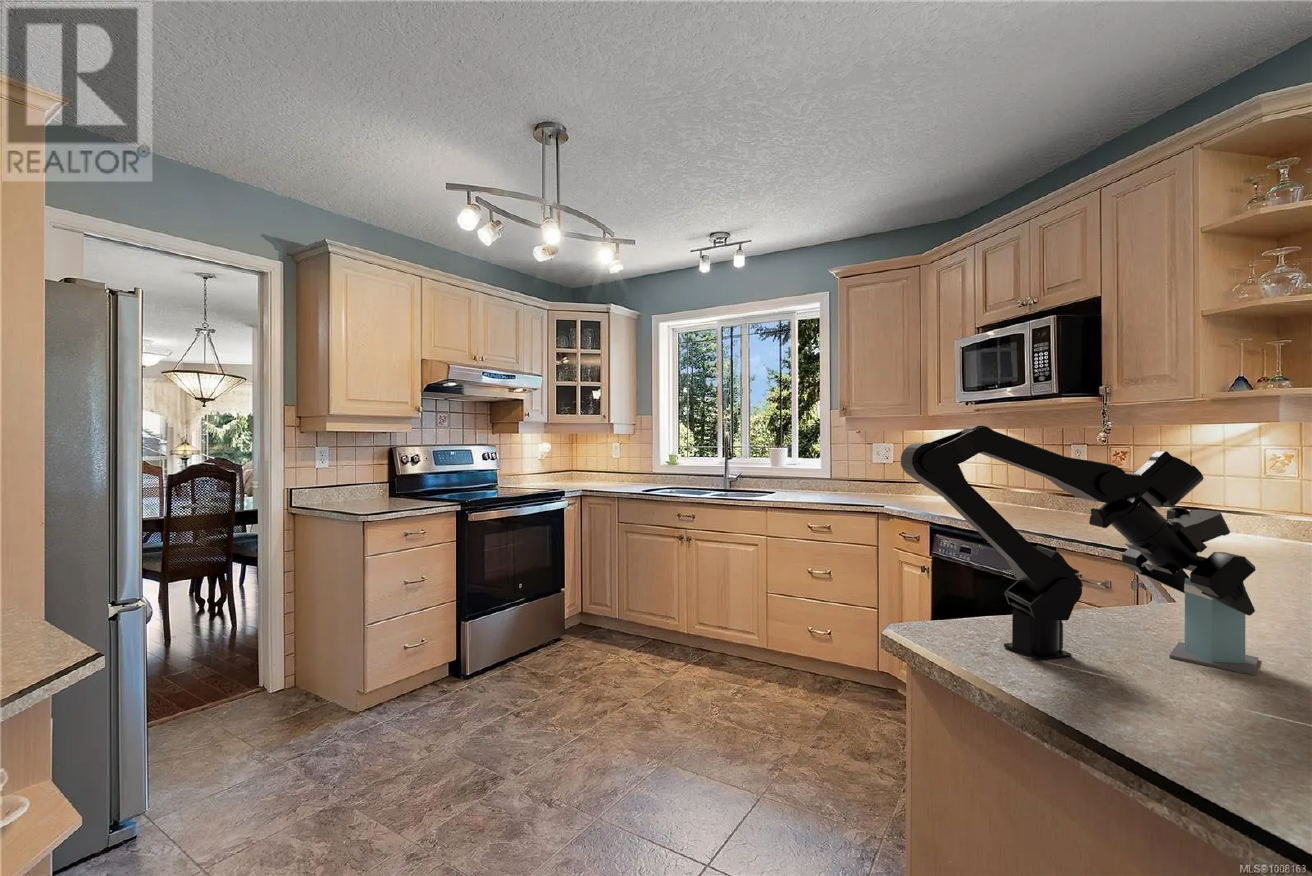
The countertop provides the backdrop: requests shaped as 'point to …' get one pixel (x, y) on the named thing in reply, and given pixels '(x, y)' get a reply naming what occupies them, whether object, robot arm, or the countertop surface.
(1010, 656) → the countertop surface
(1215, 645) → the carton
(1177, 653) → the mat
